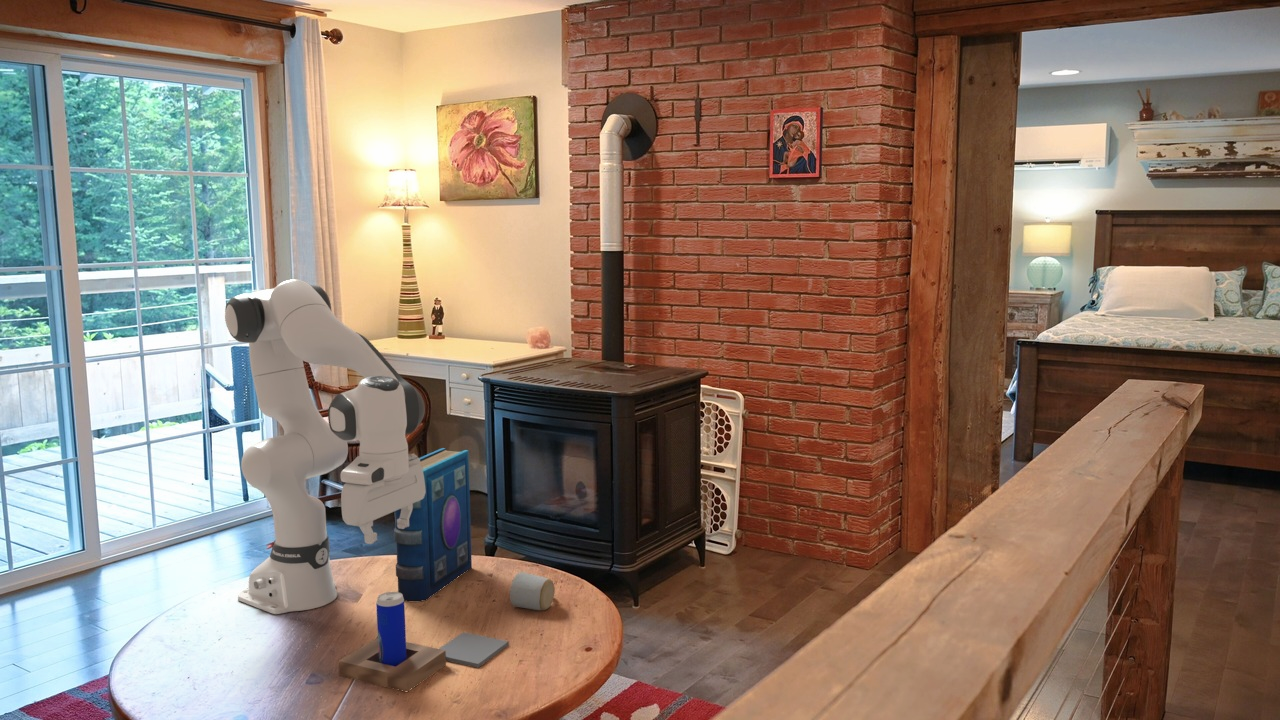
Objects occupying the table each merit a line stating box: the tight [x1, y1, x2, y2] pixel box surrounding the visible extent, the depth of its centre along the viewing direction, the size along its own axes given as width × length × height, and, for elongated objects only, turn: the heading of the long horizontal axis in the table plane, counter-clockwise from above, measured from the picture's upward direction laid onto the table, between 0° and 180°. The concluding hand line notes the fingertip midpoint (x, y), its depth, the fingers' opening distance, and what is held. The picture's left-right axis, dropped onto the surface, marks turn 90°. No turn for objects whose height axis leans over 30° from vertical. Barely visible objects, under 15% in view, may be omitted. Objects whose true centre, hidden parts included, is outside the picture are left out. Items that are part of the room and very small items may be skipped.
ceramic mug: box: [509, 571, 556, 611], centre depth 215 cm, size 11×8×8 cm
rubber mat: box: [438, 631, 510, 669], centre depth 193 cm, size 11×11×1 cm
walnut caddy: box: [338, 636, 447, 692], centre depth 184 cm, size 16×12×3 cm
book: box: [393, 447, 473, 602], centre depth 226 cm, size 24×9×30 cm, turn 161°
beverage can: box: [376, 591, 407, 667], centre depth 184 cm, size 5×5×15 cm
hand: (387, 535), depth 181 cm, fingers open, 8 cm apart
